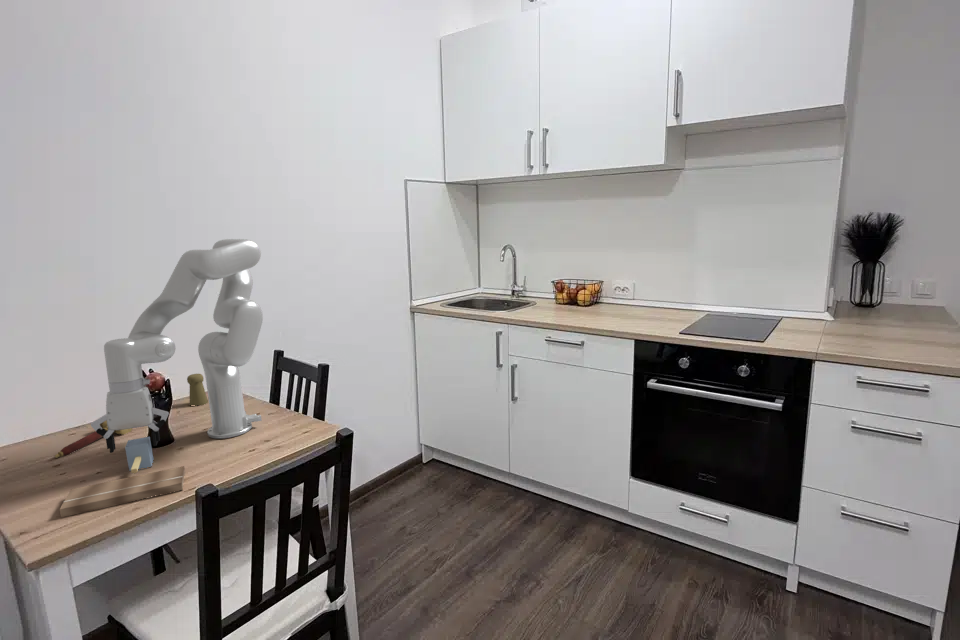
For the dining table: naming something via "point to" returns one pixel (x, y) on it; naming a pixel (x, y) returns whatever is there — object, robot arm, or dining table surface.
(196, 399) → the cork
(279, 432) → the dining table surface
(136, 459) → the blue block with stick
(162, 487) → the board
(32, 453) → the dining table surface
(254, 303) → the robot arm
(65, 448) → the gavel
